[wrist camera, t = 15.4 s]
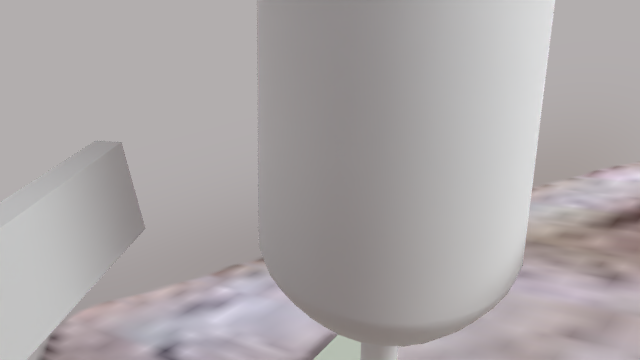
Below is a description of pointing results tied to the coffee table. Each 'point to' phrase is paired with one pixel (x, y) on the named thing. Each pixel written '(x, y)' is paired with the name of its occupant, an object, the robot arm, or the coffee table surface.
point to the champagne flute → (397, 159)
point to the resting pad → (341, 350)
